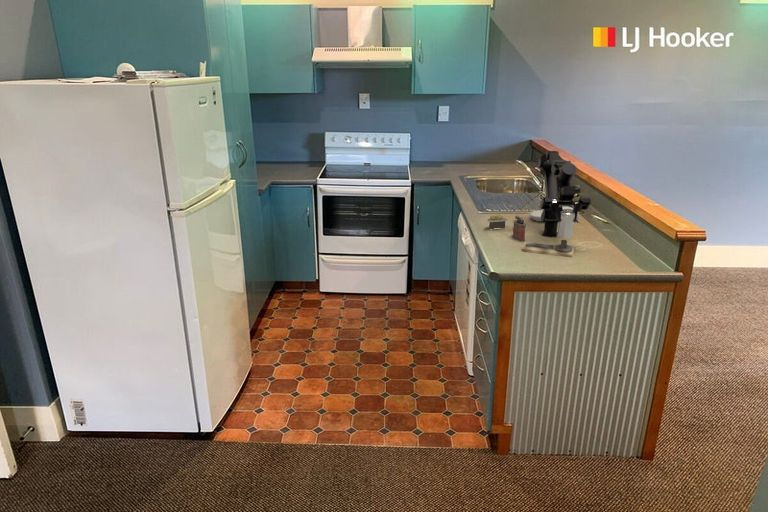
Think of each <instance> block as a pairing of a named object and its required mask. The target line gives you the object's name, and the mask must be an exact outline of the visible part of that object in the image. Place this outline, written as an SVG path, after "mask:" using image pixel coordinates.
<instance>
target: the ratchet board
mask: <svg viewBox="0 0 768 512" xmlns="http://www.w3.org/2000/svg"><path fill="white" fill-rule="evenodd" d="M567 243H568V241H567V239H561V240H560V244H548V243H538V242H529V241H524V244H523V245H522V247H521V249H520V250H521V252H526V253H535V254H543V255H551V256H559V257H566V258H572V257H573V255H574V253H575V246H574V247H573V246H571V245H569V244H567Z"/></svg>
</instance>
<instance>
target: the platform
mask: <svg viewBox="0 0 768 512" xmlns="http://www.w3.org/2000/svg"><path fill="white" fill-rule="evenodd" d="M508 221H509V219H508V218H506V217H505V218H504V216H502V215H501V214H500V215H489V218H487V219H486V222H487V223H489V226H488V227H489V228H488V230H489V229H494V228H505V229H506V222H508Z"/></svg>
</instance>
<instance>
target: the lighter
mask: <svg viewBox="0 0 768 512" xmlns="http://www.w3.org/2000/svg"><path fill="white" fill-rule="evenodd" d="M514 218H515V220H513V222H512V223H513V227H512V236H511V237H512V238H513V239H514V240H515V241H518V242H521V243H523V242H524V243H525V242H526V239H525V237H526V227H527V224H526V223H525V218H523V216H519V215H515V217H514Z"/></svg>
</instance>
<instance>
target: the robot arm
mask: <svg viewBox="0 0 768 512" xmlns="http://www.w3.org/2000/svg"><path fill="white" fill-rule="evenodd" d="M537 168H538V169H539V174H541V175H542V176H543V180H544V187H545V196H544V197H543V198H542V199H541V202H540V210H543V212H542V214H541V220H542V222H541V223H543V224H544V225H543V231H542V234H541V236H544V237H545V236H547V237H554V238H555V237H558V226H559V222H561V216H560V212H561V211H565V210H563V208H562V207H563V206H569V207H571V206H573V207H572V208H573V212H575V219H574V223H576V222H577V221H576V218H577V214H579V213H578V212H581V210H582V211H583V210H584V211H585V210H586V211H587V210H588V209H589V207H590V205H591V204H592V200H591V198H590V197H587V196H586V197H584V196H583V197H582V196H581V197H579V198H578V200H574V199H575V196H576V195H578V194H580V193H581V186H580V184H575V185H574V186H572V185H571V181H573V179H574V177H575V175H576V173H577V169H578V168H577V166H576V165H575V164H574V163H572V162H571V160H564V159H563V158H562V157H561V155H560V153H559V151H557V150H548V151H546V152H545V154H542V155H541V156H540V157H539V158H538V161H537Z"/></svg>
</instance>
